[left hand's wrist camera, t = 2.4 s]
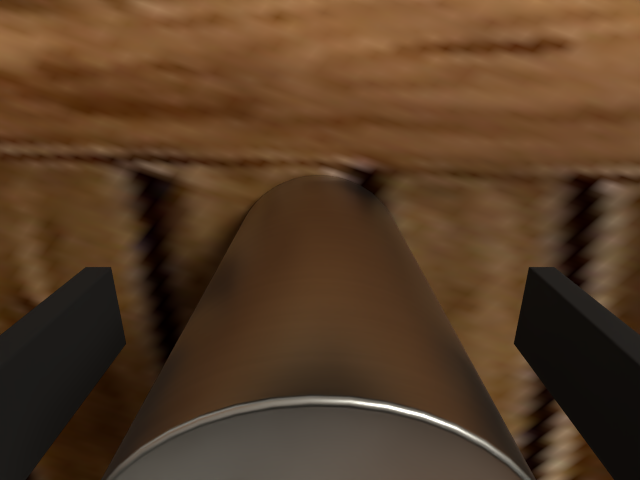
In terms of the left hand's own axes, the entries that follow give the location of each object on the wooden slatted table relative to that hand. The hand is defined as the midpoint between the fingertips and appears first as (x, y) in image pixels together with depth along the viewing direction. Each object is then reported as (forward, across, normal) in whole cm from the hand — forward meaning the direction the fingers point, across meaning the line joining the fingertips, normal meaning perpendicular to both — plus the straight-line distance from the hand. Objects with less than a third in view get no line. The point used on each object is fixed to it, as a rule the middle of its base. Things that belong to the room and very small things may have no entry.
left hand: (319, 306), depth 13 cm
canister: (+4, 0, 0) cm, 4 cm away
